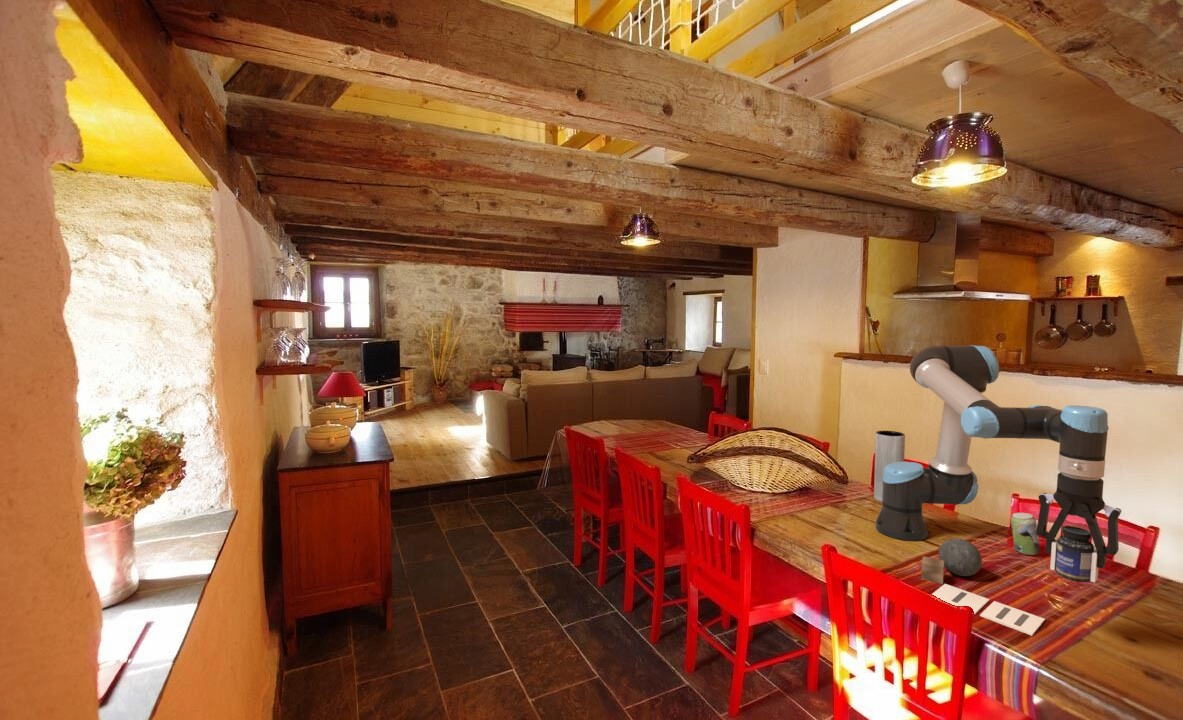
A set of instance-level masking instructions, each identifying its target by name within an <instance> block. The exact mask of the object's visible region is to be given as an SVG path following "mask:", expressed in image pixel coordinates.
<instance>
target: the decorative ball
mask: <svg viewBox="0 0 1183 720" xmlns="http://www.w3.org/2000/svg"><path fill="white" fill-rule="evenodd" d="M938 558H939V559H938V560H943V561H944V569H946V570H947V571H948V572H951V573H952V574H953V575H957V576H960V577H969V576H973V575H975V574H976V573H978V572H979V571H980V569H981V567H982V566H983V565H982V564H983V558H982V554H981V552H980V550H979V549H978V548H977V547H976V546H975V545H974V544H973V543H972V542H970V541H968V540H966V539H963V538H950V539H946V540H945V541H944V542H942V544H941V545H940V546H939V550H938Z"/></svg>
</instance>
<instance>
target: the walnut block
mask: <svg viewBox="0 0 1183 720" xmlns="http://www.w3.org/2000/svg"><path fill="white" fill-rule="evenodd" d="M920 572H921V573H920V574H921V577H920V580H921V581H923V580H926V581H925V582H927V581H931V582H935V583H939V584H938V585H940V584H943V585H944V579H943V578H944V575H945V567H944V561H943V560H940V559H938V558H932V557H928V556H925V555H924V556H923V555H922V558H921V571H920ZM931 582H930V583H931ZM935 583H934V584H935Z"/></svg>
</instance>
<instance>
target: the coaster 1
mask: <svg viewBox="0 0 1183 720" xmlns="http://www.w3.org/2000/svg"><path fill="white" fill-rule="evenodd" d="M931 594H932V595H934V596H936V597H937V598H940V599H941V600H943V601H945V602H947V603H950V604H952V605H955V606H969V607H971V608H972V609H973V611H974V615H976V614H977V613H978V612H980V611H981V609H982V608H983V607H985V606H986V605H987V604H988V603H989V602H990V598H987V597H984V596H982V595H978V594H975V593H974V592H970V591H968V590H964V589H961V588H959V587H955V586H953V585H950V584H947V583H943V585H940V586H939V588H937V589H936V590H935V591H934V592H933V593H931ZM947 603H946V604H947ZM952 605H951V606H952ZM955 606H954V607H955Z"/></svg>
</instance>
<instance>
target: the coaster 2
mask: <svg viewBox="0 0 1183 720" xmlns="http://www.w3.org/2000/svg"><path fill="white" fill-rule="evenodd" d="M979 617H982V618H984V619H987V620H989V621H992V622H994V623H997V624H1000V625H1002V626H1004V627H1008V628H1009V629H1010V628H1011V629H1013V630H1016V631H1018V632H1021V633H1023V634H1027V635H1029V636H1031V637H1033V636H1034V635H1035V634H1036V632H1037V631H1038V630H1039V628H1040V627H1041V626H1042V624H1044V622H1045V621H1046V619H1045V618H1044V617H1040V616H1038V615H1035V614H1033V613H1029V612H1027V611H1024V610H1021V609H1018V608H1015V607H1012V606H1009V605H1007V604H1004V603H1002V602H998V601H996V600H994V601H993V602H991V604H989V606H987V607H986V608H985V609H984V610H983V611H982V612H981V613H980V614H979Z"/></svg>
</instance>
